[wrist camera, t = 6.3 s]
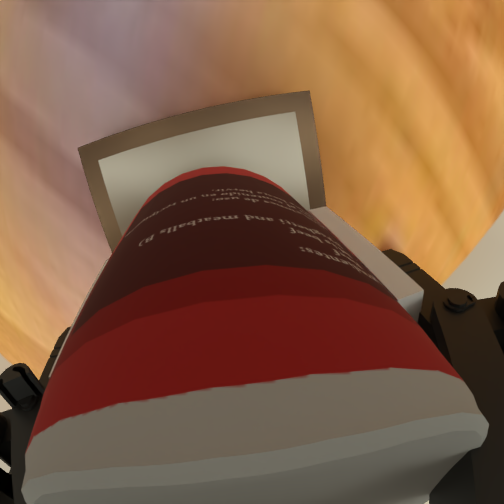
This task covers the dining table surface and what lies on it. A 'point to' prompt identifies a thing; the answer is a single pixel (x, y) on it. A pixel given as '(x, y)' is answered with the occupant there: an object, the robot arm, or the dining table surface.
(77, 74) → the dining table surface
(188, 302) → the canned food
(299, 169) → the base block
